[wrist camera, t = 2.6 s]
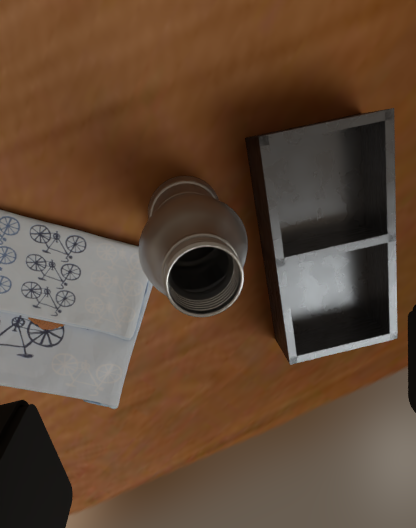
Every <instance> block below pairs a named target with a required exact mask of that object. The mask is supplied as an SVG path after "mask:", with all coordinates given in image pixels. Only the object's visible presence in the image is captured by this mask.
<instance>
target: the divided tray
mask: <svg viewBox="0 0 416 528" xmlns="http://www.w3.org/2000/svg"><path fill="white" fill-rule="evenodd" d="M245 140H246V147H247V153H248V160H249V166H250V173H251V180H252V186H253V193H254V200H255V206H256V213H257V220H258V226H259V233H260V240H261V246H262V253H263V260H264V266H265V273H266V279H267V286H268V293H269V299H270V306H271V313H272V319H273V326H274V333H275V339H276V341H277V343H278V344H279V346H280V348H281V350H282V351H283V353H284V355H285V357H286V358H287V360H288V362H289V364H294V363H299V362H303V361H307V360H311V359H315V358H319V357H323V356H327V355H331V354H336V353H340V352H344V351H348V350H352V349H356V348H360V347H364V346H368V345H372V344H377V343H381V342H385V341H389V340H393V339H397V283H396V213H395V144H394V108H393V109H386V110H380V111H374V112H368V113H362V114H357V115H352V116H347V117H343V118H338V119H333V120H328V121H324V122H319V123H314V124H309V125H304V126H300V127H295V128H290V129H285V130H281V131H276V132H271V133H266V134H262V135H257V136H252V137H247V138H245Z"/></svg>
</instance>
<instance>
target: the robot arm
mask: <svg viewBox="0 0 416 528" xmlns="http://www.w3.org/2000/svg"><path fill="white" fill-rule="evenodd" d="M408 397H409V402H410V405H411V407H412V408H413V410H414V411H415V413H416V305H414V307H413V311H411V312H410V313H409V314H408ZM71 504H72V486H71V483H70V481H69V479H68V477H67V474H66V472H65V470H64V468H63V466H62V463H61V461H60V459H59V457H58V454H57V452H56V450H55V448H54V446H53V443H52V441H51V439H50V437H49V434H48V432H47V430H46V428H45V426H44V423H43V421H42V419H41V417H40V414H39V412H38V410H37V408H36V406H35V405H33V404H30V405H29V404H28V403H27V402H26V401H25V400H20V401H16V402H11V403H7V404H3V405H0V528H65V527H66V523H67V519H68V515H69V511H70V508H71Z"/></svg>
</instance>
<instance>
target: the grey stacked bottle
mask: <svg viewBox="0 0 416 528" xmlns="http://www.w3.org/2000/svg"><path fill="white" fill-rule="evenodd" d="M247 249H248V240H247V234H246V230H245V227H244V225H243V223H242V221H241V219H240V218H239V216H238V215H237V214H236V212H235V211H234V210H233V209H231V208H230V207H229V206H228V205H227V204H225V203H223V202H221V201H219V199H218V197H217V195H216V193H215V191H214V190H213V189H212V187H211V186H210V185H209V184H207V183H206V182H205V181H203V180H201V179H199V178H196V177H193V176H178V177H174V178H171V179H169V180H167V181H165V182H164V183H163V184H161V185H160V186H159V187H158V188H157V189H156V191H155V192H154V193H153V195H152V197H151V199H150V202H149V205H148V221H147V223H146V225H145V227H144V229H143V231H142V234H141V237H140V240H139V250H138V252H139V260H140V264H141V267H142V270H143V272H144V274H145V275H146V277H147V278H148V280H149V281H150V282H151V283H152V284H153V285H154V286H155V287H156V289H157V290H159V291H160V292H162V293H163V294H164V295H166V296H167V297H168V299H169V300H170V302H171V304H172V305H173V306H174V307H175V308H176V309H178V310H179V311H181V312H182V313H184V314H187V315H189V316H194V317H208V316H213V315H216V314H219V313H221V312H222V311H224V310H226V309H227V308H228V307H230V306H231V305H232V304H233V303H234V302H235V301H236V299H237V298H238V296H239V295H240V292H241V290H242V287H243V282H244V272H243V266H244V263H245V260H246V255H247Z"/></svg>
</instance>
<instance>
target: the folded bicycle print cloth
mask: <svg viewBox="0 0 416 528" xmlns="http://www.w3.org/2000/svg"><path fill="white" fill-rule="evenodd" d="M138 250H139V247H138V246H135V245H131V244H127V243H124V242H120V241H116V240H112V239H108V238H104V237H101V236H97V235H94V234H90V233H87V232H83V231H80V230H76V229H72V228H68V227H64V226H60V225H56V224H52V223H48V222H44V221H40V220H37V219H33V218H29V217H25V216H21V215H18V214H14V213H11V212H7V211H4V210H0V385H2V386H8V387H14V388H20V389H26V390H32V391H38V392H44V393H50V394H56V395H62V396H67V397H73V398H79V399H83V400H84V401H85V402H88V403H92V404H97V405H102V406H106V407H110V408H112V409H116V408H118V404H119V400H120V395H121V391H122V387H123V383H124V380H125V376H126V372H127V368H128V364H129V361H130V357H131V354H132V351H133V348H134V344H135V341H136V337H137V334H138V331H139V328H140V325H141V322H142V318H143V315H144V312H145V309H146V305H147V302H148V299H149V295H150V292H151V289H152V286H153V284H152V283H151V282H150V281H149V280H148V278H147V277H146V275H145V274H144V272H143V270H142V267H141V264H140V260H139V252H138ZM28 317H31V318H36V319H41V320H45V321H50V322H55V323H60V324H65V325H64V326H63V327H58V328H57V329H53V330H47V331H46V329H45V330H43V329H40V328H39V326H38V325H35V324H34V323H33V322H31V321H30V320H29V319H28ZM86 400H87V401H86Z"/></svg>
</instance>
